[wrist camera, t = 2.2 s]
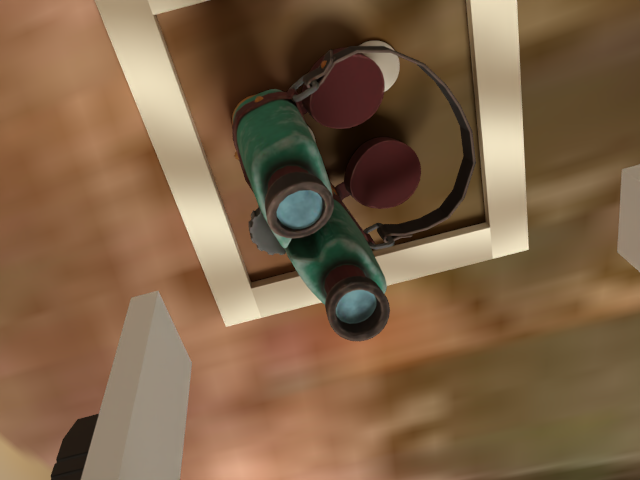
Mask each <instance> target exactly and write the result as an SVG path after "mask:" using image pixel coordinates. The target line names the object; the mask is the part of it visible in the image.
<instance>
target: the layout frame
mask: <svg viewBox="0 0 640 480" xmlns="http://www.w3.org/2000/svg"><path fill="white" fill-rule="evenodd" d="M205 1H209V0H95V3H96V5H97V8H98V10H99V13H100V15H101V17H102V20H103V22H104V25H105V27H106V30H107V32H108V35H109V37H110V40H111V42H112V45H113V47H114V50H115V52H116V55H117V57H118V60H119V62H120V65H121V67H122V70H123V72H124V75H125V77H126V80H127V82H128V84H129V87H130V89H131V92H132V94H133V97H134V99H135V102H136V104H137V107H138V109H139V112H140V114H141V117H142V119H143V122H144V124H145V127H146V129H147V132H148V134H149V137H150V139H151V142H152V144H153V147H154V149H155V152H156V154H157V156H158V159H159V161H160V164H161V166H162V169H163V171H164V174H165V176H166V179H167V181H168V184H169V186H170V189H171V191H172V194H173V196H174V199H175V201H176V204H177V206H178V209H179V211H180V214H181V216H182V219H183V221H184V223H185V226H186V228H187V231H188V233H189V236H190V238H191V241H192V243H193V246H194V248H195V251H196V253H197V256H198V258H199V261H200V263H201V266H202V268H203V271H204V273H205V276H206V278H207V281H208V283H209V286H210V288H211V290H212V293H213V295H214V298H215V300H216V303H217V305H218V308H219V310H220V313H221V315H222V318H223V320H224V323H225V325H226V327H227V326H231V325H235V324H239V323H243V322H246V321H250V320H254V319H258V318H262V317H266V316H270V315H274V314H278V313H282V312H286V311H290V310H294V309H297V308H301V307H305V306H309V305H313V304H317V303H321V301H320V300H319V299H318V298H317V297H316V296H315V295H314V294H313V293H312V291H311V290H310V289H309V288H308V287H307V286H306V284H305V283H304V281H303V280H302V279H301V277H300V276H299V274H298V272H297V271H294V272H290V273H286V274H282V275H278V276H274V277H270V278H266V279H262V280H258V281H255V282H251V281H250V278H249V276H248V273H247V270H246V267H245V264H244V261H243V259H242V256H241V253H240V250H239V247H238V245H237V242H236V239H235V236H234V233H233V231H232V228H231V225H230V222H229V219H228V217H227V214H226V211H225V208H224V205H223V202H222V200H221V197H220V194H219V191H218V188H217V186H216V183H215V180H214V177H213V174H212V172H211V169H210V166H209V163H208V160H207V157H206V155H205V152H204V149H203V146H202V143H201V141H200V138H199V135H198V132H197V129H196V127H195V124H194V121H193V118H192V115H191V113H190V110H189V107H188V104H187V101H186V98H185V96H184V93H183V90H182V87H181V84H180V82H179V79H178V76H177V73H176V70H175V68H174V65H173V62H172V59H171V56H170V53H169V51H168V48H167V45H166V42H165V39H164V37H163V34H162V31H161V28H160V25H159V23H158V20H157V17H156V14H160V13H163V12H167V11H171V10H175V9H178V8H182V7H186V6H190V5H194V4H197V3H201V2H205ZM466 7H467V18H468V29H469V40H470V51H471V62H472V73H473V85H474V96H475V107H476V118H477V129H478V140H479V151H480V162H481V173H482V184H483V195H484V206H485V218H486V222H485V223H481V224H477V225H473V226H469V227H465V228H461V229H458V230H454V231H450V232H446V233H442V234H438V235H434V236H430V237H426V238H422V239H418V240H415V241H411V242H407V243H403V244H399V245H395V246H391V247H387V248H383V249H379V250H376V251H372V252H373V254H374V256H375V258H376V260H377V262H378V264H379V266H380V268H381V270H382V272H383V274H384V276H385V280H386V284H387V286H388V285H392V284H395V283H399V282H403V281H407V280H411V279H415V278H419V277H423V276H427V275H431V274H435V273H439V272H443V271H446V270H450V269H454V268H458V267H462V266H466V265H470V264H474V263H478V262H482V261H486V260H490V259H493V258H497V257H501V256H505V255H509V254H513V253H517V252H521V251H525V250H529V247H528V225H527V204H526V183H525V162H524V141H523V120H522V99H521V78H520V56H519V35H518V14H517V0H466ZM359 46H385V47H387V48H390V49H392V50H394V49H393V48H392V47H391V46H389V45H388V44H386V43H384V42H382V41H368V42H365V43H363V44H361V45H359ZM362 54H364V55H366V56H367V57H369V58H370V59H372V60H373V61H375V63H376V64H377V65H378V66H379V67H380V69H381V71H382V73H383V77H384V81H385V90H384V92H385V91H386V90H388V89H389V88H390V87H391V86H392V85H393V84H394V82H395V81H396V79H397V77H398V74H399V66H400V65H399V59H398V56H397V55H394V54H392V53H362ZM307 127H308V126H307ZM308 129H309V131H310V133H311V135H312V137H313V139H314V141H315V137H314V134H313V132H312V130H311V129H310V128H309V127H308ZM315 143H316V141H315Z"/></svg>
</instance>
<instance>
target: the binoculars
mask: <svg viewBox="0 0 640 480" xmlns="http://www.w3.org/2000/svg"><path fill="white" fill-rule="evenodd" d="M362 53H392V54H394V55H397V56H399V57H402V58H404V59H406V60H409V61H411V62H413V63H416V64H417V65H418V66H419V67H420V68H421V69H422V70H423V71H424V72H425V73H426V74H427V75H429V76H430V77H431V78H432V79H433V80H434V81H435V82H436V84H437V85H438V87H439V88H440V90H441V91H442V92H443V94H444V95H445V97H446V98H447V100H448V101H449V103H450V105H451V107H452V110H453V112H454V114H455V116H456V118H457V120H458V123H459V125H460V130H461V138H462V146H463V154H464V157H463V160H462V163H461V166H460V169H459V173H458V176H457V179H456V182H455V185H454V188H453V190H452V192H451V193H450V194H449V196H448V197H447V198H446V200H445V201H444V202H443V204H442V205H441V206H440V208H438V209H436V210H434V211H432V212H431V213H429V214H427V215H425V216H423V217H421V218H419V219H416V220H412V221H408V222H404V223H401V224H384V225H383V224H381V223H376V224H374V225H372V226H370V227H368V228H366V229H365V230H364V231H363V230H362V228H361V227H360V226H359V224H358V223H357V222H356V220H355V219H354V217H353V216H352V215H351V213H350V212H349V210H348V209H347V208H346V206H345V205H344V203H343V202H342V200H343V199H344V198H345V197H347V196H349V195H351V196H352V197H353V198H354V199H355V200H356V201H358V202H359V203H361V204H362V205H365V206H368V207H371V208H379V209H381V208H390V207H395V206H397V205H399V204H402V203H403V202H405V201H406V200H407V199H409V197H410V196H411V195H412V194H413V193H414V191H415V190H416V188H417V186H418V184H419V181H420V175H421V166H420V162H419V159H418V157H417V155H416V153H415V152H414V151H413V150H412V149H411V148H410V147H409V146H408V145H406V144H404V143H402V142H400V141H398V140H396V139H393V138H390V137H378V138H373V139H371V140H369V141H367V142H365V143H364V144H362V145H361V146H360V147H359V148H358V149H357V150H356V151H355V153H354V154H353V156H352V157H351V159H350V161H349V163H348V165H347V168H346V171H345V176H344V182H342V183H341V184H339V185H337V186H336V187H334V186H333V185H332V184H331V183H330V182H329V179H328V176H327V173H326V170H325V167H324V163H323V160H322V157H321V155H320V152H319V150H318V148H317V145H316V143H315V141H314V139H313V137H312V135H311V133H310V131H309V129H308V127H307V124H306V122H305V119H304V116H303V114H305V113H307V112H308V113H309V114H310V115H311V116H312V117H313V118H314V119H315V120H316V121H317V122H319V123H320V124H322V125H324V126H327V127H330V128H338V129H341V128H350V127H354V126H357V125H359V124H362V123H364V122H365V121H366V120H368V119H369V118H370V117H371V116H372V115H373V114H374V113H375V112H376V110H377V109H378V107H379V106H380V104H381V101H382V99H383V95H384V90H385V81H384V77H383V73H382V71H381V69H380V67H379V66H378V65H377V64H376V63H375V61H373V60H372V59H370V58H369V57H367V56H366V55H364V54H362ZM303 83H304V85H303V89H302V93H301V94H298V93H297V91H296V89H298V88H299V87H300V86H301V85H302V84H303ZM292 99H293V101H294V102H293V101H292ZM232 129H233V141H234V145H235V148H236V152H235V158H236V159H238V160H239V161H240V164H241V167H242V170H243V174H244V177H245V180H246V182H247V183H248V185H249V186H250V188H251V190H252V191H253V193H254V194H255V197H256V200H257V202H258V206H259V208H258V209H257V210H256V211H253V212H252V214H251V218H252V219H251V221H249V231H250V235H251V239H252V242H253V243H256V244H257V248H258V249H259V250H261V251H263V250H264V251H266V252H268V254H270V255H273V254H274V253H279V254H280V255H283V254H285V253H287V255H288V257H289V259H290V260H291V262H292V264H293V266H294V267H295V269H296V271H297V272H298V274H299V276H300V277H301V279H302V280H303V281H304V283H305V284H306V286H307V287H308V288H309V289H310V290H311V291H312V293H313V294H314V295H315V296H316V297H317V298H318V299H319V300H320V301H321V302H322V303H323V304H325V307H326V312H327V316H328V320H329V323H330V325H331V327H332V328H333V330H334V331H335V332H336V333H337V334H338V335H339V336H341V337H343V338H345V339H347V340H351V341H364V340H368V339H371V338H373V337H374V336H376V335H377V334H379V333H380V332H381V331H382V330H383V328H384V327H385V325H386V324H387V321H388V318H389V312H390V308H389V302H388V300H387V297H386V296H385V292H386V288H387V284H386V280H385V276H384V274H383V272H382V270H381V268H380V266H379V264H378V262H377V260H376V258H375V256H374V254H373V252H372V250H371V249H376V250H377V249H382V248H387V247H391V246H393V245H394V243H395V242H394V241H395V240H398V239H400V238H407V237H412V234H413V233H417V232H420V231H424V230H428V229H430V228H432V227H434V226H435V225H437V224H439V223H441V222H443V221H445V220H446V219H448V218H450V216H451V215H452V214H453V212H454V211H455V210H456V208H457V207H458V206H459V205H460V203H461V202H462V201H463V199H464V198H465V195H466V191H467V188H468V185H469V182H470V179H471V176H472V173H473V170H474V167H475V164H476V161H475V152H474V143H473V134H472V130H471V127H470V125H469V123H468V121H467V119H466V116H465V114H464V112H463V110H462V108H461V106H460V104H459V103H458V101H457V100H456V98H455V97H454V95H453V94H452V92H451V91H450V89H449V88H448V86H447V85H446V84H445V83H444V82H443V81H442V80H441V79H440V78H439V77H438V76H437V75H436V74H435V73H434V72H433V71H432V70H431V69H429V68H428V67H427V66H426V65H425V64H424V63H422V62H419V61H417V60H415V59H413V58H411V57H408V56H406V55H404V54H401V53H399V52H397V51H394V50H392V49H390V48H387V47H385V46H350V47H348V48H338V49H334V50H332V49H331V50H329V51H328V52H327V53H326V54H325V55H323V56H322V57H321V58H320V59H319V60H318V61H317V62H316V63H315V64H314V65H313V67H312V68H311V70H310V71H309V73H307V74H305V75H304V76H302V77H301V78H300V79H299V80H298V81H297V82H296V83H294V84H293V85H292V86H291V87H290V89H289V90H288V91H287V92H283V91H281V90H278V89H270V90H267V91H264V92H261V93H259V94H256V95H252V96H249V97H247V98H245V99H243V100H242V101H241V102H240V103H239V104H238V105H237V106H236V108H235V110H234V112H233V116H232ZM376 228H377V232H378V233H379V235H380V236H381V238H382V239H383V241H384V242H385V243H382V244H377V245H376V244H375V243H374V241H373V239H372V238H371V236H370V235H369V234H368V233H369V232H370V231H372V230H374V229H376Z"/></svg>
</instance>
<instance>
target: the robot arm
mask: <svg viewBox="0 0 640 480" xmlns="http://www.w3.org/2000/svg"><path fill="white" fill-rule="evenodd" d="M617 252H618V253H619V254H620V255H621V256H622V257H624V258H625V259H626V260H627V261H628V262H629V263H630V264H631V265H632V266H634V267H635V268H636V269H637V270H638V271H639V272H640V165H636V166H633V167H629V168H625V169H622V178H621V196H620V215H619V233H618V251H617ZM191 367H192V362H191V360H190V358H189V356H188V353H187V351H186V349H185V347H184V345H183V343H182V341H181V338H180V336H179V334H178V332H177V330H176V328H175V326H174V323H173V321H172V319H171V317H170V315H169V313H168V311H167V309H166V306H165V304H164V302H163V300H162V298H161V296H160V294H159V291H155V292H151V293H148V294H144V295H140V296H136V297H132V298H131V301H130V304H129V308H128V311H127V315H126V319H125V322H124V326H123V329H122V333H121V337H120V340H119V344H118V347H117V351H116V355H115V358H114V362H113V365H112V369H111V373H110V376H109V380H108V383H107V387H106V391H105V394H104V398H103V401H102V405H101V409H100V412H99V414H96V415H93V416H89V417H85V418H81V419H77V421H76V422H75V424H74V425H73V426H72V428H71V429H70V430H69V432H68V433H67V435H66V436H65V437H64V439H63V441H62V444H61V447H60V450H59V453H58V456H57V459H56V460H57V463H56V464H55V465H54V468H53V471H52V474H51V480H180V473H181V464H182V454H183V445H184V435H185V425H186V416H187V406H188V396H189V387H190V377H191Z"/></svg>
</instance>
